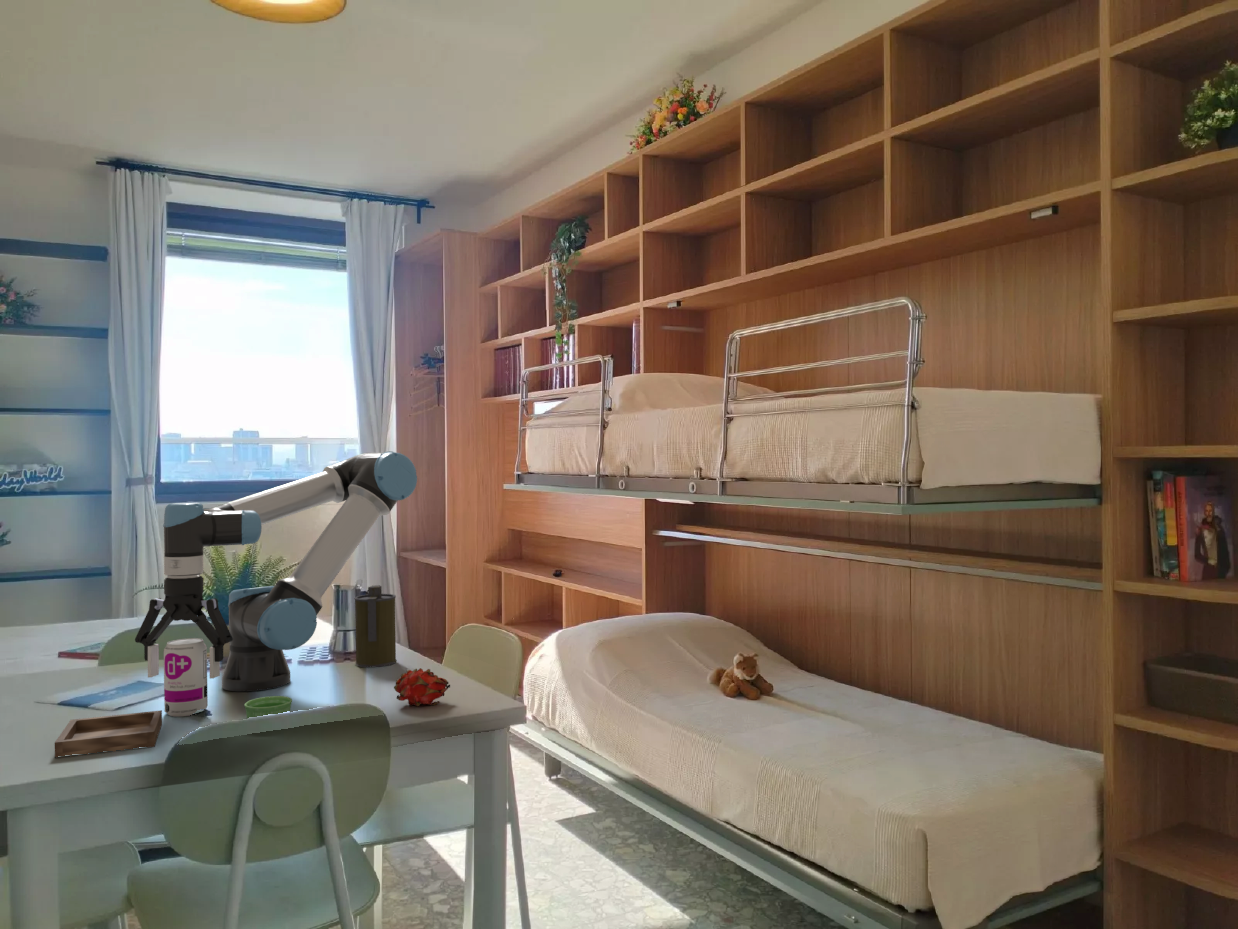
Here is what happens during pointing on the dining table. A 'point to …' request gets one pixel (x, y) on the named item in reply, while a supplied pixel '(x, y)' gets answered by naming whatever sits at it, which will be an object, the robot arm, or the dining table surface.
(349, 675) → the dining table surface
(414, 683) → the dragon fruit
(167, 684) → the supplement can
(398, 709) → the dining table surface
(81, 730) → the walnut tray
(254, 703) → the ramekin
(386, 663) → the canister
